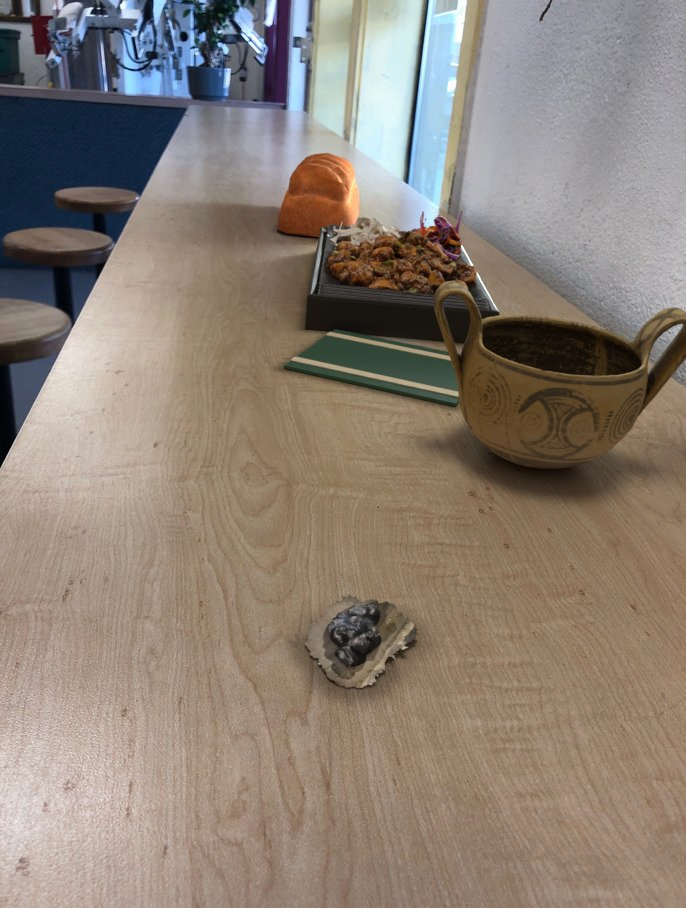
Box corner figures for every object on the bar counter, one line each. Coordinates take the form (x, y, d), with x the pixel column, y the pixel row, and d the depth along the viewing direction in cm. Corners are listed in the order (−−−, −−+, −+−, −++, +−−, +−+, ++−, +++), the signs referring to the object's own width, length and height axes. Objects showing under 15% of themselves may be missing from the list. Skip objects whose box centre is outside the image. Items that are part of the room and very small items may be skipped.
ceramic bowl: (412, 480, 68) (439, 309, 61) (413, 404, 83) (434, 260, 75) (675, 511, 67) (736, 340, 59) (628, 429, 81) (671, 283, 74)
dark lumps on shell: (422, 617, 51) (426, 594, 50) (407, 702, 45) (412, 677, 44) (321, 597, 52) (324, 574, 52) (292, 677, 46) (294, 652, 45)
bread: (272, 234, 151) (276, 161, 145) (291, 207, 179) (295, 144, 172) (353, 242, 151) (360, 169, 144) (360, 213, 178) (366, 151, 171)
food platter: (318, 252, 141) (323, 191, 136) (454, 264, 141) (464, 204, 136) (305, 329, 102) (311, 247, 97) (493, 345, 102) (509, 265, 97)
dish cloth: (486, 362, 96) (487, 358, 96) (455, 406, 83) (456, 402, 83) (334, 331, 102) (334, 328, 102) (283, 368, 89) (283, 364, 89)
